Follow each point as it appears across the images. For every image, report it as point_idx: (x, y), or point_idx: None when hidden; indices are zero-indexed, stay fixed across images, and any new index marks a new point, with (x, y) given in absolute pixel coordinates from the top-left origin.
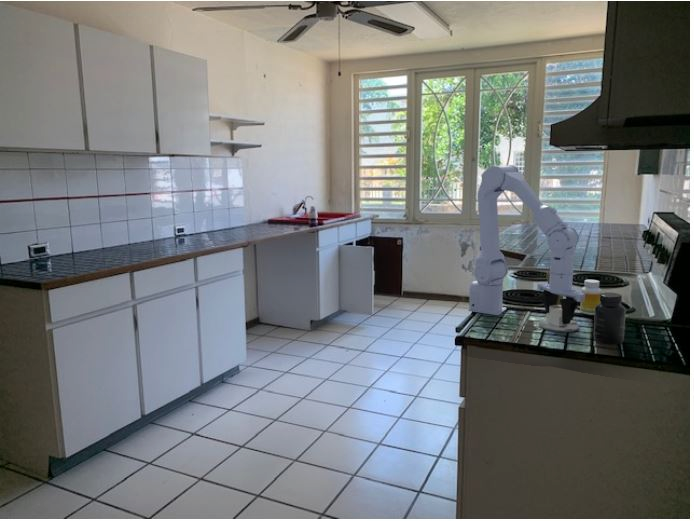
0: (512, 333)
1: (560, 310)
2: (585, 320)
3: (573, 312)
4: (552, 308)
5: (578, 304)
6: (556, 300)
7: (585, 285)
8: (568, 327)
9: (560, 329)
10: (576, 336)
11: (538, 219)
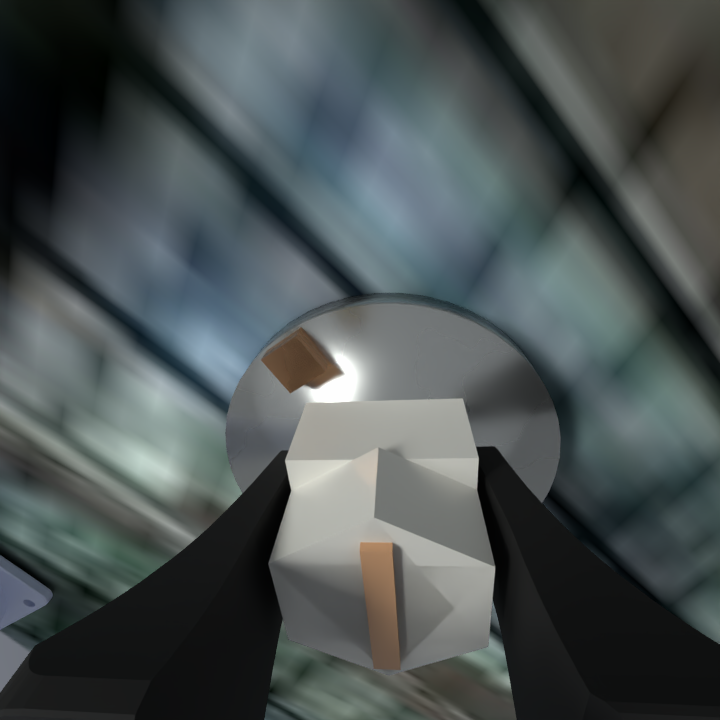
0: (372, 686)
1: (468, 639)
2: (347, 33)
3: (560, 531)
4: (388, 673)
5: (693, 638)
6: (227, 604)
7: None
8: (523, 478)
9: None
10: (635, 487)
11: None
